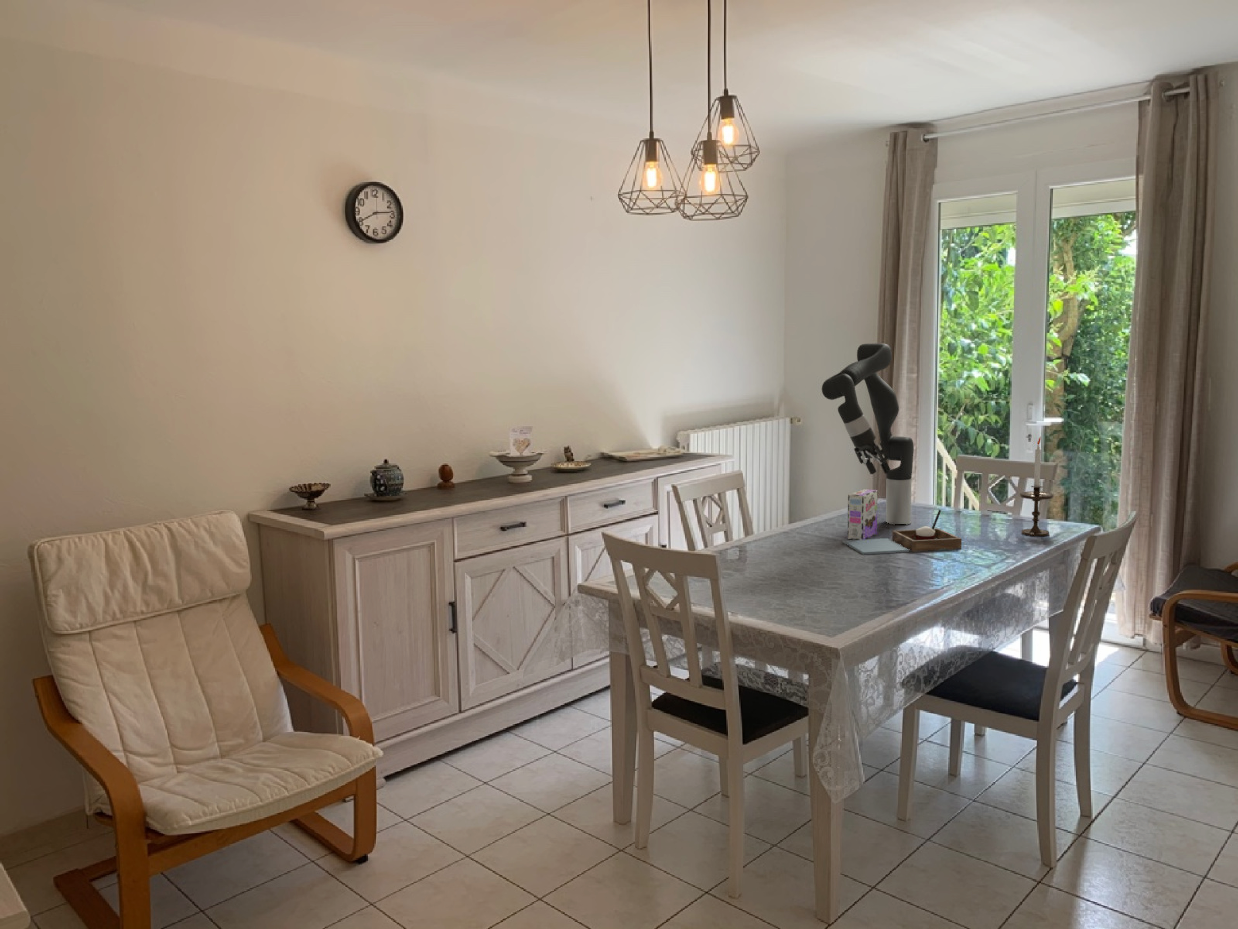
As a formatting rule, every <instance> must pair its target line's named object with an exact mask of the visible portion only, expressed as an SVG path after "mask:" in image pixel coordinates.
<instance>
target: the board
mask: <svg viewBox="0 0 1238 929" xmlns="http://www.w3.org/2000/svg"><path fill="white" fill-rule="evenodd" d="M843 544H844V545H846V544H848V545H849V546H848V545H847V546H848V547H850V548H851V549H853V548H854V549H855V551H857V552H858V551H859V552H860V554H861V555H862V556H863V555H878V554H879V555H880V554H894V553H895V554H896V552H897V553H898V552H901V553H909V552H910V550H909V549H907V548H905V547H903V546H901V545H900V544H898V543H896V542H894V541H892V539H890V538H888V537H886V538H885V537H884V538H867V539H865V540H852V539H848V540H843ZM854 549H853V550H854ZM859 552H858V553H859Z"/></svg>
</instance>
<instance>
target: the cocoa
mask: <svg viewBox="0 0 1238 929" xmlns="http://www.w3.org/2000/svg"><path fill="white" fill-rule="evenodd" d="M941 512H942V510H941V509H938V511H937V513H936V516H935V519H934V521H933V523H932V527H929V526H926V525H925V526H921V527H919V528H917V529H915V530H916V536H915V535H912V539H913V536H915V537H916V540H931V539H935V535H934V534H935V531H934V529H936V526H937V522H938V520H939V517H940V516H941ZM913 540H914V539H913Z"/></svg>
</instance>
